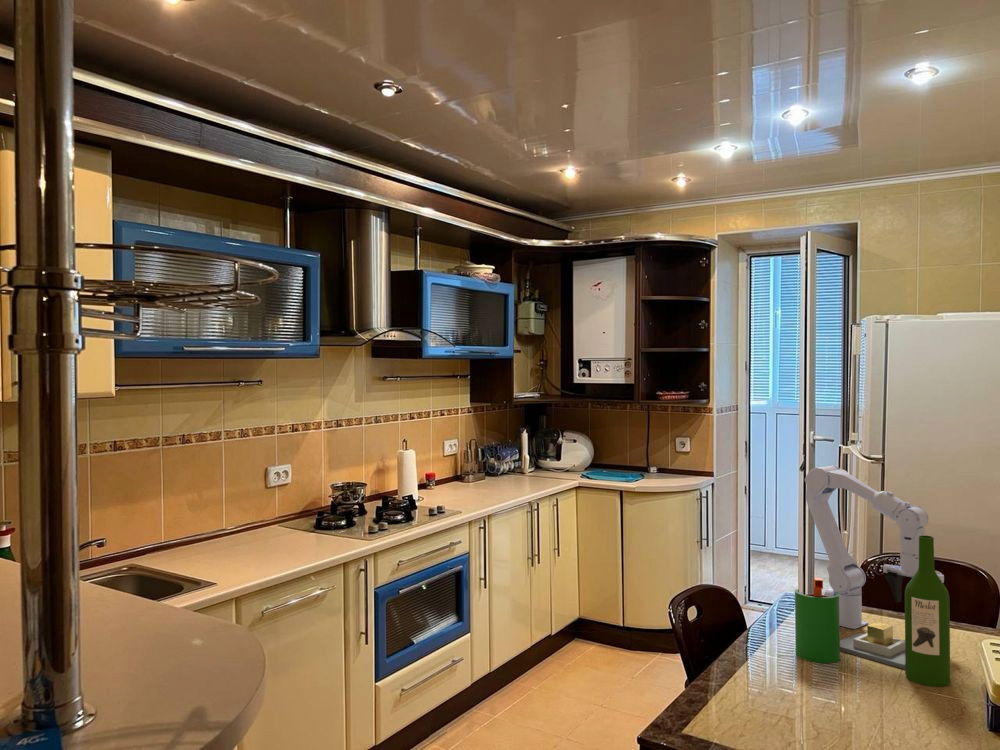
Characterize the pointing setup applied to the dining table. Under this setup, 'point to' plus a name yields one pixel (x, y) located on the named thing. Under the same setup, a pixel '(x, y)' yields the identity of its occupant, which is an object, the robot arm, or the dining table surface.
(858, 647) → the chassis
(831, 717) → the dining table surface
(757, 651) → the dining table surface
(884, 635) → the tan rectangular block
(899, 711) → the dining table surface
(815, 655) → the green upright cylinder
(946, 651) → the wine bottle
